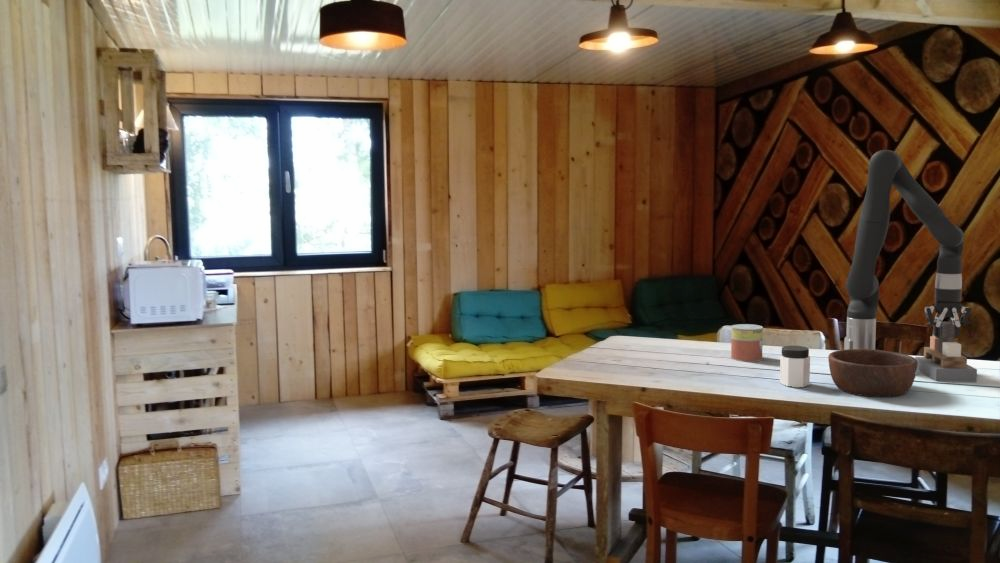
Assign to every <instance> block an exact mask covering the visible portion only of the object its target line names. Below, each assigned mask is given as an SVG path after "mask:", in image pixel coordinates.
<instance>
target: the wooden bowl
mask: <svg viewBox="0 0 1000 563" xmlns="http://www.w3.org/2000/svg"><path fill="white" fill-rule="evenodd" d="M827 358H828V367H829V372H830V377H831V379H832V381H833V384H834V385H835V386H836V387H837V388H838V389H839V390H841V391H843V392H846V391H847V392H846V393H849V392H850V394H853V393H854V395H858V394H860V395H859V396H864V395H867V396H866V397H875V396H877V397H881V398H885V397H886V398H888V397H889V398H890V397H898V396H902V395H905V394H906V393H907V392H908V391H909V390H910V389H911V387H912V385H913V384H914V381H915V378H916V375H917V371H918V370H917V365H918V362H917V360H916V359H915V357H913V356H911V355H909V354H906V353H905V354H904V353H900V352H897V351H891V350H890V351H889V350H882V349H881V350H880V349H875V350H871V349H848V350H844V349H841V350H836V351H832V352H830V353H829V354H828V357H827Z"/></svg>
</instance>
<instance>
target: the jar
mask: <svg viewBox="0 0 1000 563" xmlns="http://www.w3.org/2000/svg"><path fill="white" fill-rule="evenodd" d="M779 357H780V360H779V363H780V364H779V384H780V383H781V384H780V385H782V384H784V385H783V386H785V385H786V386H785V387H787V386H792V387H791V388H799V387H803V388H805V387H804V386H806V387H808V386H809V385H810V383H811V382H810V379H811V378H810V376H811V375H810V373H811V372H810V371H811V356H810V348H808V347H806V346H801V345H783V346H782V347H781V355H780V356H779ZM807 385H808V386H807Z"/></svg>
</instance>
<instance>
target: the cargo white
mask: <svg viewBox="0 0 1000 563" xmlns="http://www.w3.org/2000/svg"><path fill="white" fill-rule="evenodd" d="M942 354H943V355H945V356H947V357H961V355H962V344H961V343H959V342H956V341H952V342H943V347H942Z"/></svg>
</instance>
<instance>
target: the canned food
mask: <svg viewBox="0 0 1000 563" xmlns="http://www.w3.org/2000/svg"><path fill="white" fill-rule="evenodd" d="M763 330H764V327H763V326H762V325H758V324H753V323H752V324H751V323H750V324H749V323H740V324H739V323H738V324H731V334H730V335H731V339H730V340H731V341H730V342H731V344H730V345H731V350H730V358H731V359H732V360H734V361H737V362H738V361H739V362H747V363H749V362H750V363H751V362H752V363H753V362H759V361H762V360H764V359H763V341H764V339H763V338H764V336H763V335H764V334H763V333H764V331H763Z"/></svg>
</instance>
